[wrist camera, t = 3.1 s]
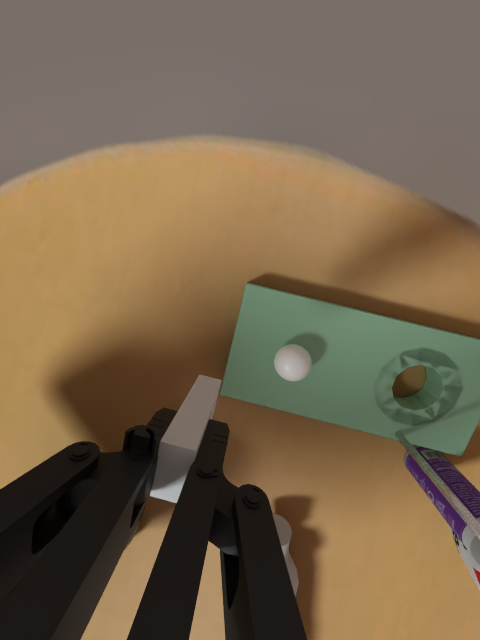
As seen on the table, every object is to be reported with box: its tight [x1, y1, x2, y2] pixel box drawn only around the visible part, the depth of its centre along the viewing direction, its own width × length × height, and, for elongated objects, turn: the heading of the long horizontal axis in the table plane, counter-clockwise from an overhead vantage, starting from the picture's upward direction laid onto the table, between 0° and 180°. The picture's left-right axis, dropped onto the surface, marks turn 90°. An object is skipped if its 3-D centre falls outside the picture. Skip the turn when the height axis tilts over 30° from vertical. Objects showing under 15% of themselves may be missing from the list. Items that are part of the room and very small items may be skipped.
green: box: [220, 282, 480, 457], centre depth 31 cm, size 30×14×3 cm, turn 77°
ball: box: [274, 344, 312, 381], centre depth 28 cm, size 4×4×4 cm
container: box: [404, 445, 480, 565], centre depth 27 cm, size 5×5×15 cm
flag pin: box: [395, 431, 480, 540], centre depth 24 cm, size 4×1×14 cm, turn 77°
